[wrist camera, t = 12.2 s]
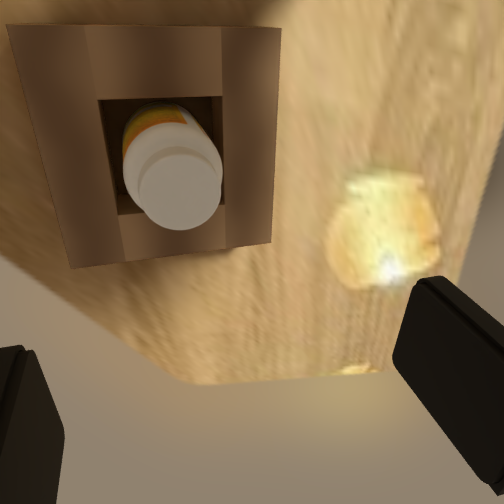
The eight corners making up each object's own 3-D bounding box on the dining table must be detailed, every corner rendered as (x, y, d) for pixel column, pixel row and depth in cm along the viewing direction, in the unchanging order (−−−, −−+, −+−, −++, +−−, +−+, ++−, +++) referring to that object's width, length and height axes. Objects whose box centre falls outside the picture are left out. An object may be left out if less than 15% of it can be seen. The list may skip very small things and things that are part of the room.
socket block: (262, 26, 25) (281, 28, 22) (257, 222, 32) (271, 242, 29) (21, 23, 21) (5, 24, 19) (76, 243, 29) (71, 269, 26)
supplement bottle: (109, 157, 26) (103, 219, 18) (143, 83, 25) (154, 116, 17) (180, 190, 29) (202, 257, 21) (216, 125, 27) (255, 171, 19)
